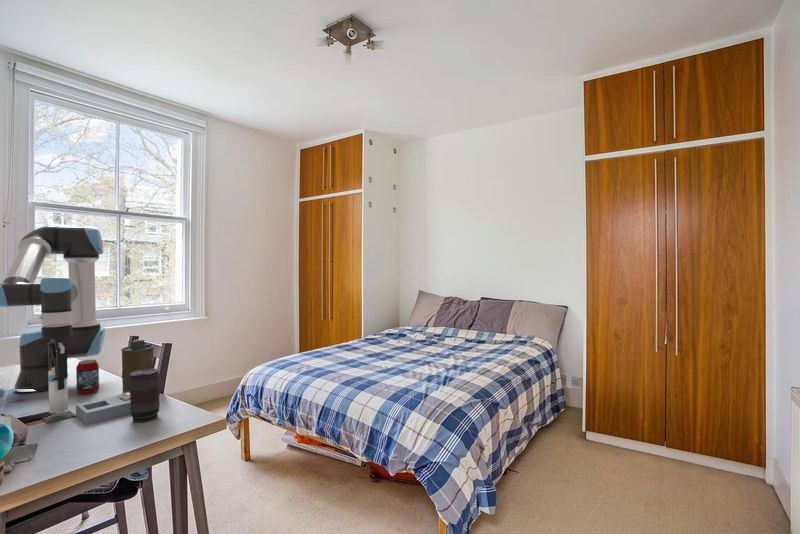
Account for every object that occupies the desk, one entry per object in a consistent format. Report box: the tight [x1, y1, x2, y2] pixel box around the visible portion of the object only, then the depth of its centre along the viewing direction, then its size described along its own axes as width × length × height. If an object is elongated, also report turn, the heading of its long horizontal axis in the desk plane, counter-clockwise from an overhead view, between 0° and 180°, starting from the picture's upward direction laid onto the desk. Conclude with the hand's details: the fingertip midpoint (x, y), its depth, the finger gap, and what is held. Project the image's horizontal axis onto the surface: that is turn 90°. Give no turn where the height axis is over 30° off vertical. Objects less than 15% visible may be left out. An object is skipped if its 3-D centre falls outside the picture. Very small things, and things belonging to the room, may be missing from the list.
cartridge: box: [48, 367, 69, 414], centre depth 130 cm, size 5×5×14 cm
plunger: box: [121, 392, 130, 401], centre depth 138 cm, size 4×4×4 cm
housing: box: [75, 393, 131, 425], centre depth 134 cm, size 12×16×4 cm
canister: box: [120, 339, 155, 394], centre depth 154 cm, size 11×10×20 cm
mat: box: [42, 410, 77, 424], centre depth 130 cm, size 7×7×1 cm
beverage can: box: [75, 359, 100, 396], centre depth 155 cm, size 7×7×12 cm
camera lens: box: [129, 368, 161, 423], centre depth 129 cm, size 8×8×15 cm
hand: (58, 397), depth 130 cm, fingers closed on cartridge, 5 cm apart
